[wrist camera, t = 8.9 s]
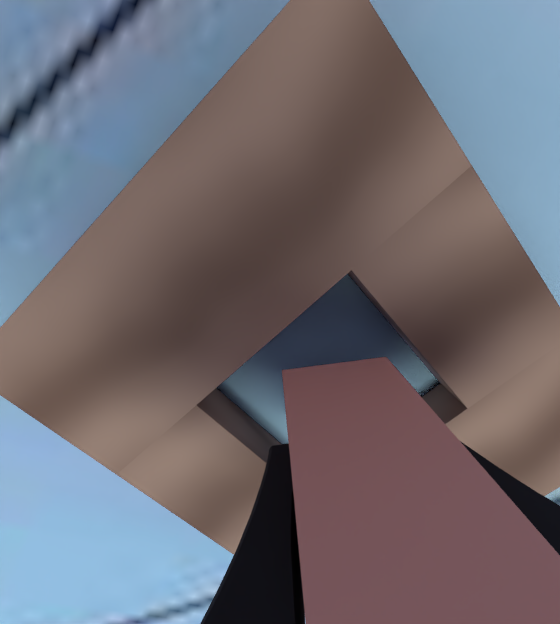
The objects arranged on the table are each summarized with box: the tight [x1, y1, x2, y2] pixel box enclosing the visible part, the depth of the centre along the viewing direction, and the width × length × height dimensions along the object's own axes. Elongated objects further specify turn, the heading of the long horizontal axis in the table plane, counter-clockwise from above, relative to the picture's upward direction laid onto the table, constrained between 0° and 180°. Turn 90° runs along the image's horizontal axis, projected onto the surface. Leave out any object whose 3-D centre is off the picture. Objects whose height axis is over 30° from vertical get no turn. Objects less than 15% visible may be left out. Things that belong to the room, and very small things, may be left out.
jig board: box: [0, 0, 560, 554], centre depth 13 cm, size 22×18×2 cm
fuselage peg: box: [282, 357, 560, 624], centre depth 8 cm, size 4×4×8 cm
